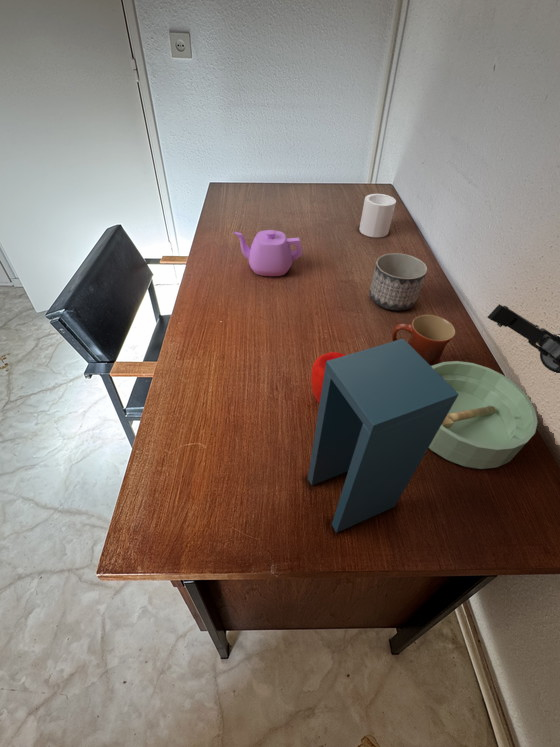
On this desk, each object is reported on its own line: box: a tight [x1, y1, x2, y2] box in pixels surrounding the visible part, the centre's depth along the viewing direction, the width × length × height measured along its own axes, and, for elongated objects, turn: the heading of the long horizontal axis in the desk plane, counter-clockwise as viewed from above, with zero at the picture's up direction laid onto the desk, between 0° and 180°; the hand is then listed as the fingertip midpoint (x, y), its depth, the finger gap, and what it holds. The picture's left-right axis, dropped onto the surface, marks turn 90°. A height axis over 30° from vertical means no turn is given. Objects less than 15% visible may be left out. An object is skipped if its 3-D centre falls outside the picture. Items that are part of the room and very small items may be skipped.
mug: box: [391, 314, 456, 366], centre depth 80 cm, size 12×9×10 cm
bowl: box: [428, 360, 539, 470], centre depth 70 cm, size 21×21×7 cm
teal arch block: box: [307, 338, 459, 533], centre depth 52 cm, size 10×11×28 cm
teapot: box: [232, 229, 304, 277], centre depth 107 cm, size 13×20×11 cm
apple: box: [310, 351, 347, 404], centre depth 72 cm, size 9×9×11 cm
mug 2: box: [358, 193, 397, 238], centre depth 127 cm, size 14×10×11 cm
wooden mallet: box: [442, 406, 496, 428], centre depth 70 cm, size 17×3×2 cm, turn 111°
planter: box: [368, 252, 428, 311], centre depth 97 cm, size 13×13×10 cm
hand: (527, 336), depth 58 cm, fingers open, 13 cm apart
